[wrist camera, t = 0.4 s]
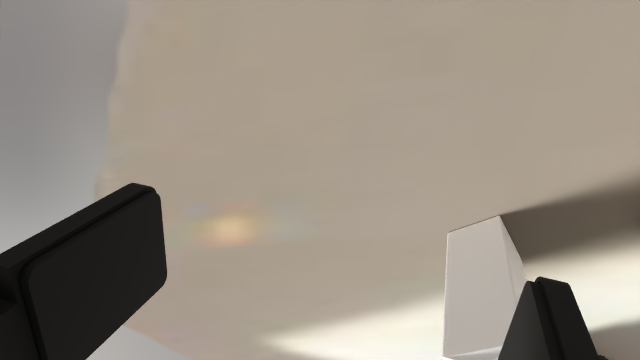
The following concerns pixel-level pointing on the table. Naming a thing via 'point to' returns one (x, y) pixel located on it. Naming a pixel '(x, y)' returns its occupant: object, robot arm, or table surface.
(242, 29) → the table surface
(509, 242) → the milk
